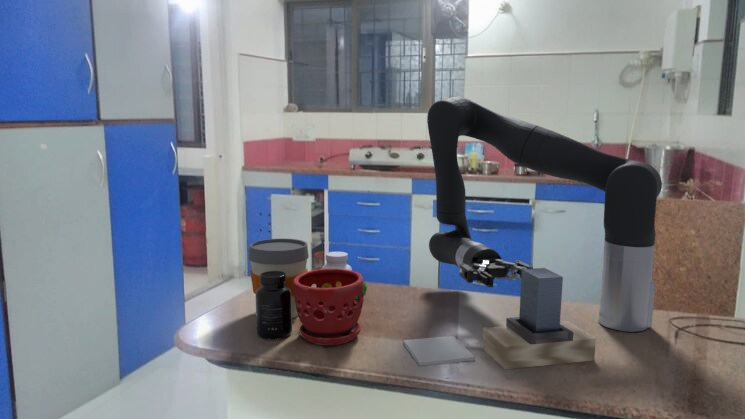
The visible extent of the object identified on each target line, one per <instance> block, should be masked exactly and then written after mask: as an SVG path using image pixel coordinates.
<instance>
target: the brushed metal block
mask: <svg viewBox="0 0 745 419" xmlns="http://www.w3.org/2000/svg"><path fill="white" fill-rule="evenodd" d="M563 280H564V276H562V275H560V274H558V273H555V272H554V271H552V270H550V269H547V268H546V267H539V268H538V267H537V268H533V269H522V275H521V280H520V295H519V296H520V297H519V314H518V315H519V316H518V317H519V323H520V324H521V325H522V326H524V327H525V328H527V329H528V330H529V331H531V332H532V333H544V332H556V331H559V330H560V321H561V310H562V298H563V297H562V295H563Z"/></svg>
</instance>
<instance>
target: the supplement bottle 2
mask: <svg viewBox="0 0 745 419" xmlns="http://www.w3.org/2000/svg"><path fill="white" fill-rule="evenodd" d="M348 255H349V253H347V252H344V251H329V252H327V253H326V254H325V261H326V264H324V265H323V266H322V267H321V269H346V270H351V271H353V269H352V266H351V265H349V264H348V263H347V262H348V259H349V258H348V257H349V256H348ZM336 286H337V287H341V286H342V283H341V282H340V281H337V282H336ZM322 288H332V286H331V285H330V284H329V283H325V284H323V285H322Z"/></svg>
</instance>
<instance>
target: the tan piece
mask: <svg viewBox="0 0 745 419" xmlns="http://www.w3.org/2000/svg"><path fill="white" fill-rule="evenodd" d="M505 320H506V323H505V324H506V325H503V326H502V325H501V326H500V325H499V326H488V327H483V328H482V330H483V332H482V350H483V351H484V352H485V353H487V355H488V356H490V357H491V358H492V359H493V360H494V361H495V362H496V363H497V364H499V366H501V368H503V369H504V370H512V369H522V368H531V367H541V366H549V365H550V366H551V365H552V366H553V365H562V364H573V363H583V362H591V361H595V355H596V344H597V342H596V341H597V338H596V337H594V336H592V335H591V334H589V333H588V332H586V331H585V330H583V329H581V328H579V327H578V326H576V325H574V324H573V323H572V322H570V321H568V320H562V321H561V320H560V330H559V331H556V332H544V333H532V332H531V331H529V330H528V329H527V328H525V327H524V326H522V325H521V324H520V323H519V316H515V317H506V318H505Z"/></svg>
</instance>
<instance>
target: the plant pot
mask: <svg viewBox="0 0 745 419" xmlns="http://www.w3.org/2000/svg"><path fill="white" fill-rule="evenodd" d="M337 281H340V282H341V283H342V286H341V287H337V286H336V282H337ZM363 281H364V277H363V276H362V274H361V273H359V272H358V271H354V270H352V271H351V270H346V269H322V268H319V269H314V270H309V271H308V272H305V273H302V274H300V275H298V276H297V277H296V278H295V279H294V281H293V284H294V298H295V303H296V310H297V314H298V316H297V317H298V319H299V321H300V323H301V326H300V327H299V332H300V334H301V336H302V338H303V339H304V340H306V341H308V342H309V343H312V344H315V345H320V346H336V345H344V344H346V343H348V342H351V341H353V340H354V339H355V338H356V337H358V335H360V333H361V330H362V329H361V324H360V323H359V322H358V321H359V319H360V317H361V315H362V314H361V313H362V310H363V306H364V305H363V304H364V297H363V295H364V286H363ZM325 283H329V284H330V285H331V286H332V288H322V285H323V284H325ZM313 285H315V287H313ZM357 295H358V300H355V297H356V296H357Z"/></svg>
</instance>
